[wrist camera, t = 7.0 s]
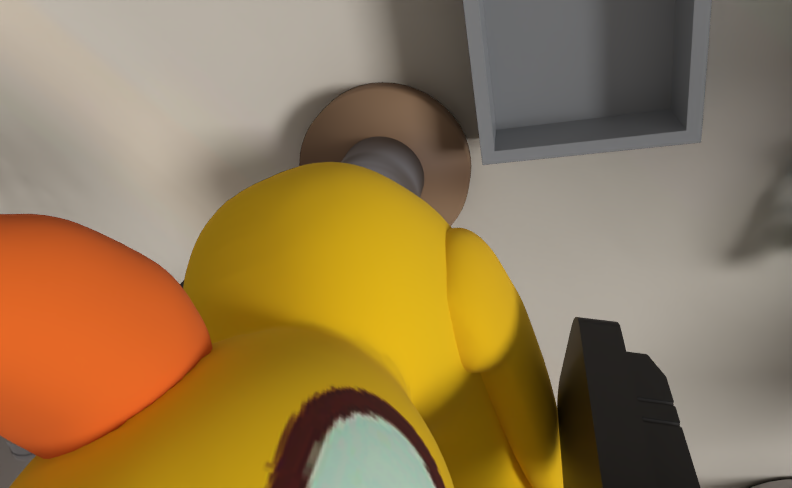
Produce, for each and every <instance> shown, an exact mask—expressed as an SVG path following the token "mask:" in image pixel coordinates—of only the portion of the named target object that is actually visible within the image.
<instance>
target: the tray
mask: <svg viewBox="0 0 792 488" xmlns="http://www.w3.org/2000/svg"><path fill="white" fill-rule="evenodd" d="M463 5H464V14H465V22H466V30H467V39H468V47H469V55H470V64H471V72H472V80H473V89H474V97H475V105H476V114H477V122H478V131H479V139H480V147H481V156H482V164H483V165H487V164H497V163H506V162H516V161H526V160H535V159H545V158H555V157H565V156H574V155H584V154H594V153H603V152H613V151H623V150H632V149H642V148H652V147H661V146H671V145H681V144H690V143H700V142H701V137H702V124H703V111H704V97H705V84H706V71H707V58H708V44H709V31H710V18H711V5H712V0H463Z"/></svg>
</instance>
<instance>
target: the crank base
mask: <svg viewBox="0 0 792 488" xmlns="http://www.w3.org/2000/svg"><path fill="white" fill-rule="evenodd" d="M321 162H341V163H348V164H353V165H357V166H361V167H364V168H367V169H370V170H372V171H375V172H377V173H379V174H381V175H383V176H385V177H387V178H389V179H391V180H393V181H395V182H396V183H398V184H400V185H401V186H403V187H404V188H406V189H408V190H409V191H411V192H412V193H414V194H415V195H417V196H418V197H420V198H421V199H422V200H424V201H425V202H426V203H428V204H429V205H430V206H431V207H432V208H433V209H435V210H436V211H437V212H438V213H439V214H440V215H441V216H442V217H443V218H444V220H445V221H446V222H447V223H448V224H449V225H450V226H451V225H452V224H453V222H454V221H455V220H456V219H457V217H458V215H459V214H460V212H461V210H462V208H463V206H464V203H465V201H466V197H467V193H468V188H469V182H470V175H471V156H470V151H469V146H468V143H467V140H466V138H465V135H464V133H463V131H462V129H461V127H460V125H459V124H458V123H457V121H456V120H455V118H454V117H453V116H452V115H451V113H450V112H449V111H448V110H447V109H446V108H445V107H444V106H443V105H441V104H440V103H439V102H438V101H437V100H435V99H434V98H432V97H431V96H429V95H428V94H426V93H424V92H422V91H419V90H417V89H415V88H412V87H409V86H406V85H401V84H396V83H383V82H382V83H370V84H366V85H361V86H358V87H355V88H353V89H350V90H348V91H346V92H344V93H342V94H341V95H339V96H338V97H337V98H335V99H334V100H333V101H331V102H330V103H329V104H328V105H327V106H326V107H325V109H324V110H323V111H322V112H321V113H320V114H319V115H318V116H317V117H316V119H315V120H314V121H313V123H312V124H311V125H310V127H309V129H308V131H307V133H306V135H305V138H304V140H303V143H302V147H301V152H300V166H302V165H306V164H312V163H321Z"/></svg>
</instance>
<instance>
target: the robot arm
mask: <svg viewBox="0 0 792 488" xmlns="http://www.w3.org/2000/svg"><path fill="white" fill-rule="evenodd" d="M180 285H181V287H182V288H183V286H184V281H183V282H182V283H181V284H180ZM673 402H674V401H673V398H672V394H671V391H670V388H669V385H668V381H667V378H666V376H665V375H664V374H663V373H662V371H661V370H660V369H659V368H658V367H657V366H656V364H655V363H654V362H653V361H652V360H651V358H650V357H649V356H648V355H647V354H640V353H632V352H626V349H625V345H624V340H623V336H622V332H621V328H620V325H619V323H618V322H613V321H605V320H596V319H588V318H580V317H575V318H574V320H573V323H572V327H571V331H570V336H569V340H568V345H567V349H566V353H565V358H564V362H563V367H562V371H561V376H560V381H559V388H558V402H557V410H558V424H559V437H560V450H561V462H562V475H563V488H700V485H699V482H698V478H697V475H696V472H695V469H694V465H693V462H692V459H691V456H690V453H689V449H688V446H687V443H686V440H685V436H684V433H683V430H682V427H680V420H679V417H678V414H677V411H676V407H675V406H673ZM35 456H36V455H35V454H33V453H31V452H29V451H27V450H26V449H24V448H22V447H20V446H18V445H16V444H14V443H12V442H10V441H9V440H7V439H5V438H3V437H2V436H0V488H9V487H10V486H11V484H12V483H13V482H14V481H15V479H16V478H17V477H18V476H19V474H20V473H21V472H22V471H23V470H24V469H25V467H26V466H27V465H28V464H29V463H30V462H31V460H32V459H33V458H34V457H35ZM751 488H792V479H785V480H778V481H772V482H767V483H763V484H760V485H757V486H753V487H751Z"/></svg>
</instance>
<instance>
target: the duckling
mask: <svg viewBox="0 0 792 488" xmlns="http://www.w3.org/2000/svg"><path fill="white" fill-rule="evenodd" d="M0 436H2V437H3V438H5V439H7V440H9V441H10V442H12V443H14V444H16V445H18V446H20V447H22V448H24V449H26V450H27V451H29V452H31V453H33V454H35V455H36V456H35V457H34V458H33V459H32V460H31V462H30V463H29V464H28V465H27V466H26V467H25V469H24V470H23V471H22V472H21V473H20V474H19V476H18V477H17V478H16V479H15V481H14V482H13V483H12V484H11V486H10V487H9V488H563V475H562V462H561V450H560V437H559V424H558V410H557V406H556V402H555V398H554V394H553V390H552V386H551V382H550V379H549V375H548V372H547V369H546V366H545V362H544V359H543V356H542V353H541V350H540V348H539V345H538V342H537V339H536V336H535V334H534V331H533V328H532V325H531V322H530V320H529V317H528V314H527V312H526V309H525V307H524V304H523V302H522V300H521V298H520V296H519V294H518V292H517V290H516V289H515V287H514V285H513V284H512V282H511V280H510V279H509V277H508V275H507V273H506V272H505V270H504V268H503V267H502V265H501V263H500V261H499V260H498V258H497V257H496V255H495V254H494V252H493V251H492V250H491V248H490V247H489V246H488V245H487V244H486V243H485V242H484V241H483V240H482V239H481V238H480V237H479V236H478V235H476V234H475V233H473V232H472V231H470V230H467V229H464V228H451V226H450V225H449V224H448V223H447V222H446V221H445V220H444V218H443V217H442V216H441V215H440V214H439V213H438V212H437V211H436V210H435V209H433V208H432V207H431V206H430V205H429V204H428V203H426V202H425V201H424V200H422V199H421V198H420V197H418V196H417V195H415V194H414V193H412V192H411V191H409V190H408V189H406V188H404V187H403V186H401V185H400V184H398V183H396V182H395V181H393V180H391V179H389V178H387V177H385V176H383V175H381V174H379V173H377V172H375V171H372V170H370V169H367V168H364V167H361V166H357V165H353V164H348V163H341V162H321V163H312V164H306V165H302V166H299V167H296V168H292V169H289V170H287V171H284V172H281V173H279V174H276V175H274V176H272V177H270V178H267V179H265V180H263V181H261V182H258V183H256V184H254V185H252V186H250V187H248V188H246V189H245V190H243V191H241V192H240V193H238V194H237V195H236V196H234V197H233V198H231V199H230V200H228V201H227V202H226V203H225V204H224V205H223V206H221V207H220V208H219V209H218V210H217V212H216V213H215V214H214V215H213V216H212V218H211V219H210V220H209V221H208V223H207V224H206V225H205V227H204V228H203V230H202V232H201V233H200V235H199V237H198V239H197V241H196V243H195V246H194V248H193V251H192V254H191V256H190V260H189V263H188V267H187V270H186V274H185V279H184V286H183V288H182V287H181V285H180V284H179V283H178V282H177V281H176V280H175V279H174V278H173V277H172V276H171V275H170V274H169V273H168V272H167V271H166V270H165V269H164V268H162V267H161V266H160V265H158V264H157V263H156V262H154V261H152V260H151V259H149V258H147V257H146V256H144V255H142V254H140V253H139V252H137V251H135V250H133V249H131V248H129V247H127V246H125V245H124V244H122V243H120V242H117V241H115V240H113V239H111V238H109V237H107V236H105V235H103V234H101V233H99V232H97V231H94V230H92V229H90V228H87V227H85V226H83V225H80V224H78V223H75V222H72V221H69V220H65V219H62V218H57V217H52V216H46V215H37V214H0Z"/></svg>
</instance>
